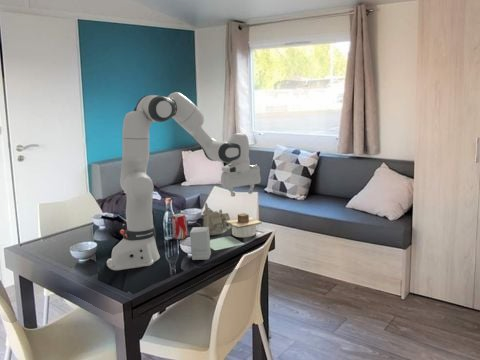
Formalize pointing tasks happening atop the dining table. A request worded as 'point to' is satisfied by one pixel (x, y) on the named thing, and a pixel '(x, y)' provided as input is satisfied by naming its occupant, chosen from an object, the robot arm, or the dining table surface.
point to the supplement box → (200, 243)
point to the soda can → (179, 226)
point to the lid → (243, 221)
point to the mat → (224, 243)
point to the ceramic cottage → (215, 221)
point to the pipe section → (244, 231)
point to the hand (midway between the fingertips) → (241, 194)
